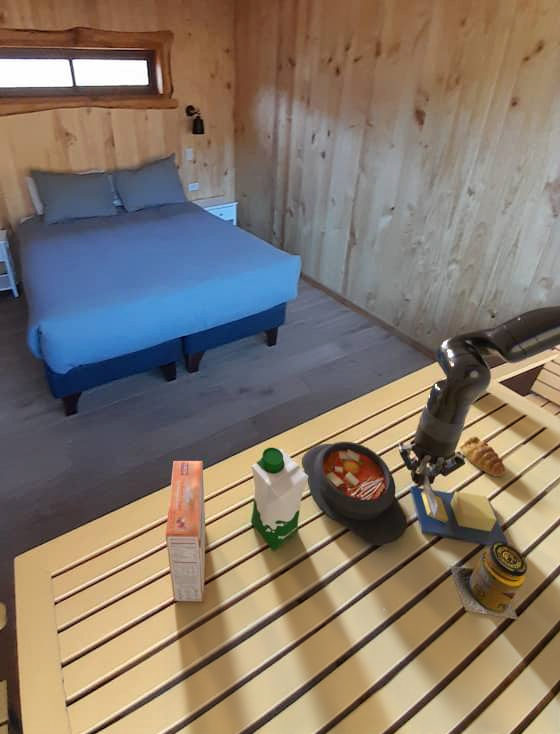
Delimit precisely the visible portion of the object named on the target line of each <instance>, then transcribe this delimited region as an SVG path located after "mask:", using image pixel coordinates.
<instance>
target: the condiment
mask: <svg viewBox="0 0 560 734" xmlns="http://www.w3.org/2000/svg"><path fill="white" fill-rule="evenodd" d="M449 568H450V570H451V573H452V576H453V579H454V582H455V585H456V588H457V591H458V595H459V596H460V599H461V602H462V604H463V605H462V606H463V607H464V610H465V611H466V612H471V613H472V612H473V613H478V614H485V615H490V616H493V617H501V618H506V619H513V620H519V618H518V615H517V613H516V611H515V609H514V607H513V605H512V603H511V602H512V601H513V600H514V598H515V596H516V595H517V594H518V591H519V590H520V588H521V587H522V586H523V584H524V582H525V575H526V573H527V570H528V564H527V562H526V559H525V557H524V555H523V554H522V553H521V552H520V551H519V550H518V549H517V548H515V547H514V546H513V545H511V544H510V543H508V544H507V543H505V542H499V541H498V542H494V543H492V545H490V546H488V548H486V549H484V551H483V552H482V554H481V556H480V558H479V560H478V562H477V564H476V566H475V567H474V568H470V567H464V566H463V567H462V566H457V565H451V564H450V565H449Z"/></svg>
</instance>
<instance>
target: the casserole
mask: <svg viewBox="0 0 560 734" xmlns="http://www.w3.org/2000/svg"><path fill="white" fill-rule="evenodd" d="M301 466H302V470H303V471H304V472H305V473H306V474H307V475H308V479H307V483H308V488H309V492H310V495H311V497H312V499H313V501H314V502H315V504H316V505H317V507H318V509H320V510H321V512H322V513H323V514H324V515H326V516H327V517H328V518H329V519H331V520H332V521H333V522H335V523H337V524H338V525H340V526H342V527H344V528H346V529H347V530H349V531H351V532H352V533H353V534H354V535H355V536H356V537H358V538H359V539H360V540H362V541H363V542H365V543H366V544H369V545H372V546H387V545H391V544H393V543H395V542H397V541H398V540H399V539H400V538H402V536H403V535H404V534H405V532H406V531H407V527H408V524H409V523H408V517H407V515H406V514H405V512H404V510H403V508H402V507H401V505H400V504H399V501H398V500H397V497H396V490H397V489H396V488H397V487H396V483H395V479H394V476H393V474H392V472H391V470H390V468H389V467H388V465H387V463H386V462H385V460H384V459H382V457H381V456H380V455H379V454H378V453H376V452H375V451H373V450H372V449H370V448H369V447H367V446H366V445H365V446H364V445H363V444H360V443H356V442H353V441H337V442H334V443H323V444H322V443H321V444H319V445H316V446H313V447H311V448H310V449H308V450H307V451H306V452H305V453H304V455H303V456H302V458H301Z"/></svg>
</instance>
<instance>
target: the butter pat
mask: <svg viewBox="0 0 560 734" xmlns="http://www.w3.org/2000/svg"><path fill="white" fill-rule="evenodd" d="M421 494H422V498H423V501H424V505H425V508H426V512H427V515H429V516H431V517H433V518H435V519H437V520H439V521H442V522H444V523H445V522H447V521H448V518H447V515H446V512H445V509H444V506H443V503H442V500H441V498H440V497H438V496H435V498H436V500H437V503H438V505H439V508H438V512H437V516H436V517H434V515H433V512H432V509H431V506H430V504H429V501H428V498H427V496H426V493H425V491H423V492H422V493H421Z"/></svg>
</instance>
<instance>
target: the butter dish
mask: <svg viewBox="0 0 560 734" xmlns="http://www.w3.org/2000/svg"><path fill="white" fill-rule="evenodd" d="M432 490H433V493H434V495H435V496H438V497H440V498H441V500H442V503H443V506H444V509H445V512H446V515H447V518H448V521H447V522H445V523H444V522H442V521H439V520H437V519H435V518H433V517H431V516H429V515H427V512H426V508H425V505H424V501H423V498H422V494H421V493H422V492H423V491H425V490H424V487H423V488H422V487H417V486H410V488H409V491H410V495H411V498H412V502H413V506H414V510H415V514H416V517H417V522H418V524H419V528H421V529H420V532H421V534H424V533H426V534H425V535H429V534H430V535H429V536H435V537H440V538H446V539H450V538H451V540H455V541H462V542H466V543H472V544H476V545H481V546H486V547H487V546H488V547H490V545H492V543H494V542H498V541H499V542H505V543H507V544H509V542H508V539H507V537H506V534H505V532H504V530H503V528H502V526H501V523H500V521H499V519H498V516H497V515H496V512H495V510H494V507H493V506H492V502H491V501H490V499H488V497H487V496H485V495H480V494H475V493H468V492H463V491H456V490H455V491H454V493H451V492H446V491H440V490H435V489H432Z"/></svg>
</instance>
